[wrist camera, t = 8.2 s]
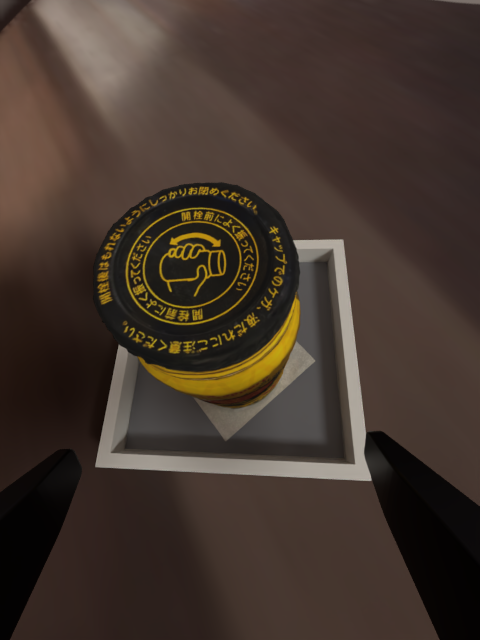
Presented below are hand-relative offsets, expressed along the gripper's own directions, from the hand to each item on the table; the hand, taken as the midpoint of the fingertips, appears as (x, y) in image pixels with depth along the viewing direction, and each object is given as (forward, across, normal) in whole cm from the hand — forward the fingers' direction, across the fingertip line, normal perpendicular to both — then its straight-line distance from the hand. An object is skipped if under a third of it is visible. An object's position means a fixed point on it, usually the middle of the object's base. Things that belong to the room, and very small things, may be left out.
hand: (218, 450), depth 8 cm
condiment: (+10, 0, +2) cm, 10 cm away
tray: (+10, 0, +2) cm, 11 cm away
